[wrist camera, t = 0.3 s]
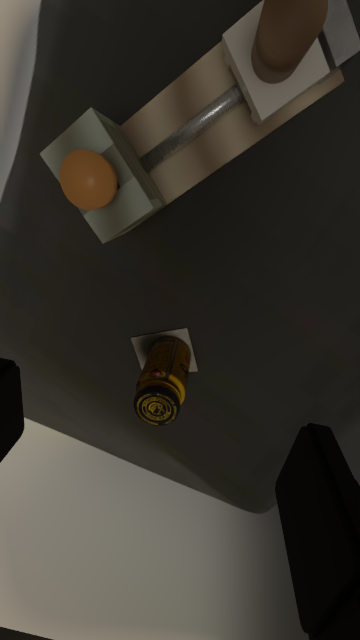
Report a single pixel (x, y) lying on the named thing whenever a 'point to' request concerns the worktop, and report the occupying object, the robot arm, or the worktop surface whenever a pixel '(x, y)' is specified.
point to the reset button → (88, 179)
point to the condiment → (162, 374)
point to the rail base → (214, 135)
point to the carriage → (276, 53)
